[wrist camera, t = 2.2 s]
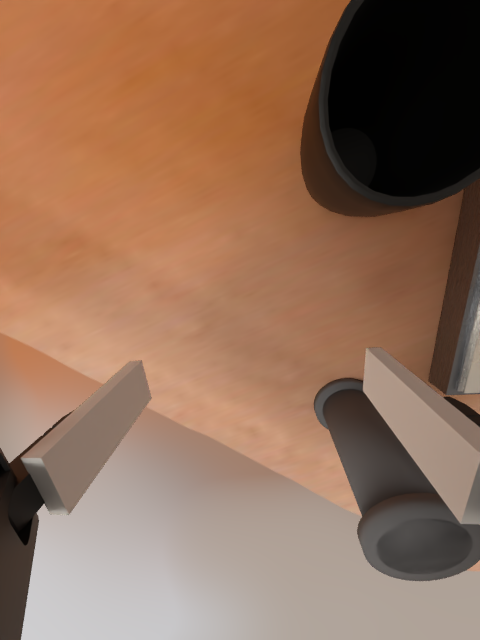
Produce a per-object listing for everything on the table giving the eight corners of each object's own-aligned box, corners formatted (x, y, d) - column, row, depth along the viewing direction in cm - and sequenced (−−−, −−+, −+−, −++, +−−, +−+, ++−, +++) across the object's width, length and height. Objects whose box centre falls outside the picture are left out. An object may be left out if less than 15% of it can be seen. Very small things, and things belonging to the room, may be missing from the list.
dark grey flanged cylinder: (313, 379, 23) (367, 507, 12) (378, 377, 22) (501, 510, 11) (313, 428, 25) (359, 578, 14) (373, 427, 24) (472, 583, 13)
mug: (466, 95, 15) (768, -122, 6) (343, 246, 19) (421, 247, 10) (377, 9, 14) (583, -397, 5) (266, 186, 18) (274, 125, 9)
